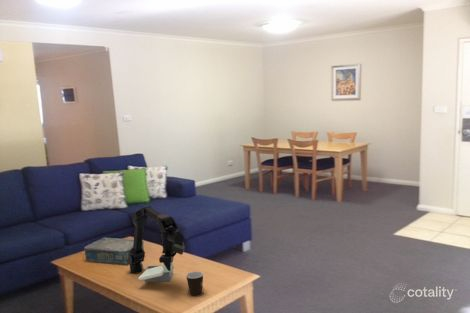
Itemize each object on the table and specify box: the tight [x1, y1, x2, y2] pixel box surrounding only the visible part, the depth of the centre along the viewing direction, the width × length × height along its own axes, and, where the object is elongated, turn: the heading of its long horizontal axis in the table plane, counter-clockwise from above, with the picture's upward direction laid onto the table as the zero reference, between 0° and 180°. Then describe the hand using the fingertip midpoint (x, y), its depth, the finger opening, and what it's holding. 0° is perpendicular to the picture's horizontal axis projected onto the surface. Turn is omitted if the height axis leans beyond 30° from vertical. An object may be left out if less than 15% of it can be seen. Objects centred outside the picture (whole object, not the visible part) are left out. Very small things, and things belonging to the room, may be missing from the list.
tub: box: [143, 265, 174, 283], centre depth 238 cm, size 14×9×6 cm, turn 87°
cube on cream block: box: [137, 262, 175, 281], centre depth 226 cm, size 19×10×4 cm, turn 70°
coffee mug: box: [186, 270, 204, 297], centre depth 219 cm, size 12×9×10 cm
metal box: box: [83, 237, 145, 266], centre depth 275 cm, size 21×32×10 cm, turn 70°
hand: (170, 269), depth 223 cm, fingers closed on cube on cream block, 4 cm apart
